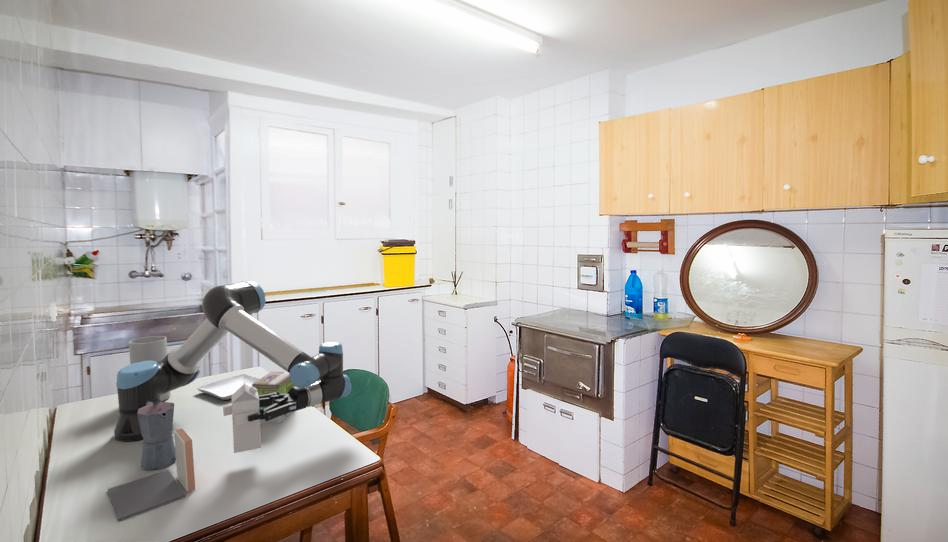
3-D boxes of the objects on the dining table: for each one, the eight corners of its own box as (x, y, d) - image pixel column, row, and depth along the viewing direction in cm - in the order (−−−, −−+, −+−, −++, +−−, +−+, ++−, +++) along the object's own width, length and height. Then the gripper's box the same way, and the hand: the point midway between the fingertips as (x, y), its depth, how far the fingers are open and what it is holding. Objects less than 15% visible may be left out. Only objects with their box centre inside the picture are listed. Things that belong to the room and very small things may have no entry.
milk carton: (234, 453, 134) (231, 389, 132) (233, 443, 140) (230, 382, 138) (261, 448, 137) (258, 385, 135) (259, 438, 143) (257, 378, 141)
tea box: (280, 424, 166) (278, 383, 164) (252, 424, 166) (250, 383, 165) (297, 407, 181) (295, 370, 179) (271, 407, 181) (269, 370, 180)
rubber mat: (107, 491, 124) (107, 489, 124) (168, 471, 134) (168, 469, 134) (118, 521, 112) (118, 518, 111) (185, 496, 121) (185, 494, 121)
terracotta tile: (177, 478, 130) (173, 430, 129) (185, 475, 132) (182, 428, 130) (186, 492, 123) (183, 442, 122) (195, 489, 125) (192, 439, 123)
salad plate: (223, 404, 185) (222, 396, 185) (195, 394, 196) (195, 386, 196) (271, 389, 203) (271, 381, 202) (243, 380, 214) (243, 373, 214)
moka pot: (152, 477, 131) (147, 409, 129) (128, 463, 139) (122, 398, 137) (188, 462, 139) (183, 398, 137) (162, 449, 147) (158, 388, 145)
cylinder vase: (128, 401, 188) (123, 340, 186) (162, 392, 198) (158, 334, 196) (141, 408, 181) (136, 345, 178) (176, 398, 191) (172, 338, 189)
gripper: (320, 417, 143) (243, 441, 127) (290, 398, 158) (217, 417, 142) (319, 393, 142) (241, 414, 126) (289, 376, 157) (216, 393, 141)
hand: (229, 416), depth 134 cm, fingers closed on milk carton, 9 cm apart
